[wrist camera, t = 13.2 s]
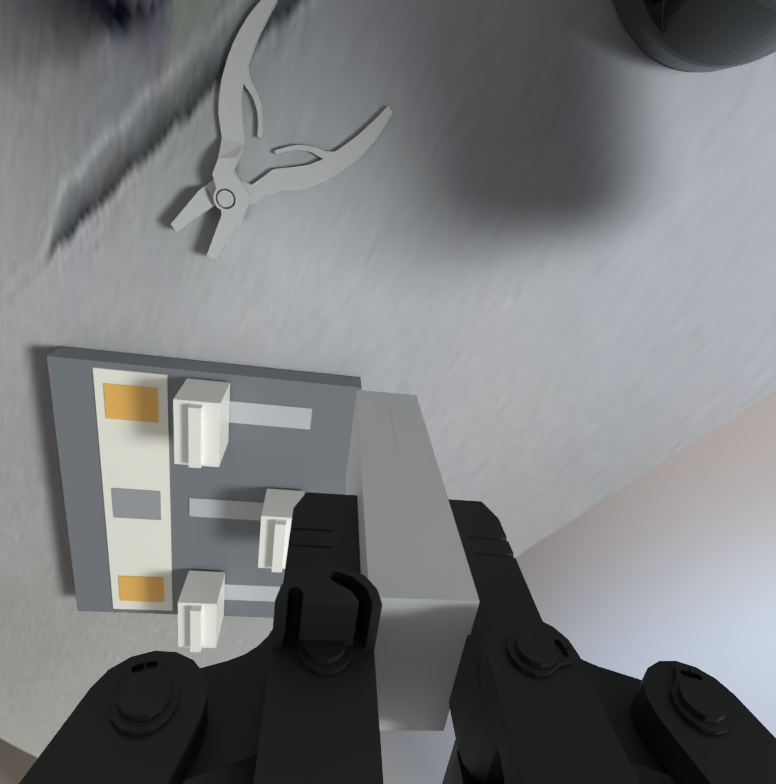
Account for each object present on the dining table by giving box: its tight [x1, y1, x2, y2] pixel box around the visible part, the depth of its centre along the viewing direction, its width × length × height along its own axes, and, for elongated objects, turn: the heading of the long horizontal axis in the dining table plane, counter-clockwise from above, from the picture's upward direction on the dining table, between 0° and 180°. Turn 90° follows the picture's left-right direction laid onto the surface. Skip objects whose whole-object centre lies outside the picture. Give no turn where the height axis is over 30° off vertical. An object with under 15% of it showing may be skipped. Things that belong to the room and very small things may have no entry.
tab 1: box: [173, 378, 230, 468], centre depth 36 cm, size 3×5×4 cm, turn 171°
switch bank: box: [47, 346, 361, 618], centre depth 43 cm, size 22×24×2 cm
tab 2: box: [258, 489, 304, 573], centre depth 41 cm, size 3×5×4 cm, turn 171°
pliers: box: [171, 0, 393, 260], centre depth 33 cm, size 10×2×15 cm
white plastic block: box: [178, 571, 225, 652], centre depth 44 cm, size 3×5×4 cm, turn 171°
